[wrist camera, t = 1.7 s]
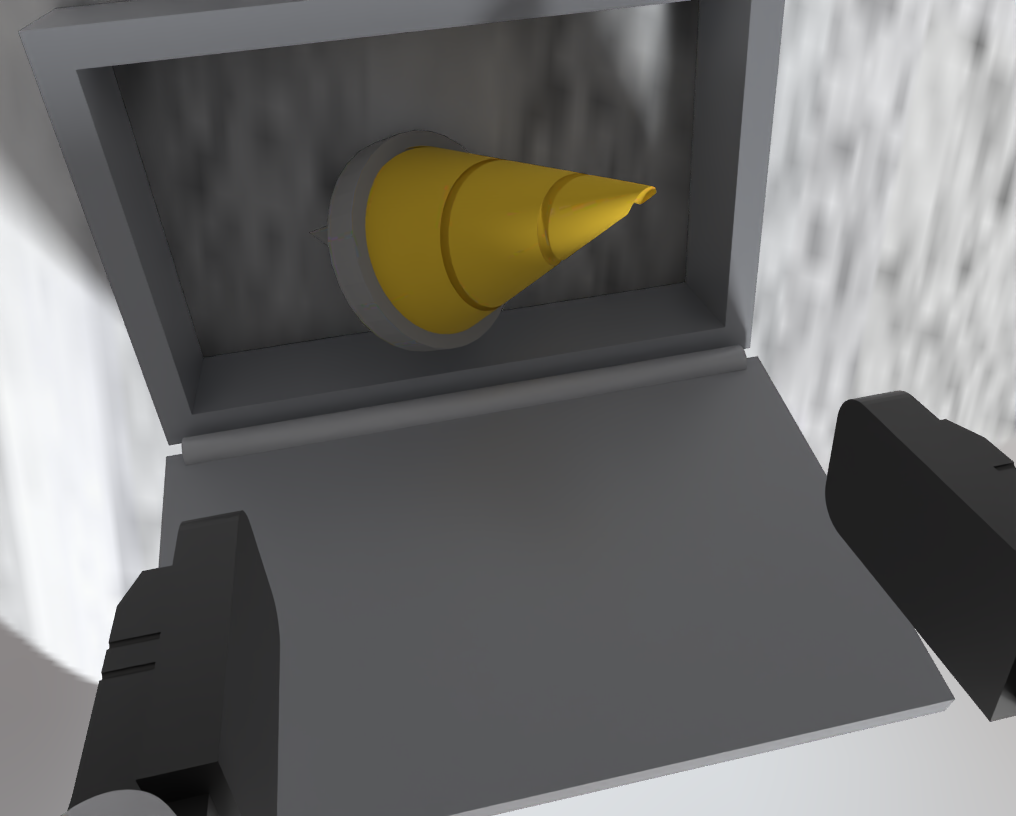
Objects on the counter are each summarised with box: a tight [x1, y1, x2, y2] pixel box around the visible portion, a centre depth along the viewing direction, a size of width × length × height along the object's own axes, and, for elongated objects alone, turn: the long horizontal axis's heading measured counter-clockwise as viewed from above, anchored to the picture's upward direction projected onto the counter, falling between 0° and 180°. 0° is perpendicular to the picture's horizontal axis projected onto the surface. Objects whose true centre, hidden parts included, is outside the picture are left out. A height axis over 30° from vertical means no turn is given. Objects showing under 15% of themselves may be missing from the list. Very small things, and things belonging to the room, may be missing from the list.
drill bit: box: [309, 130, 657, 352], centre depth 20 cm, size 5×5×10 cm
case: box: [18, 0, 785, 445], centre depth 22 cm, size 16×10×3 cm, turn 93°
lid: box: [159, 345, 955, 816], centre depth 20 cm, size 16×10×1 cm
